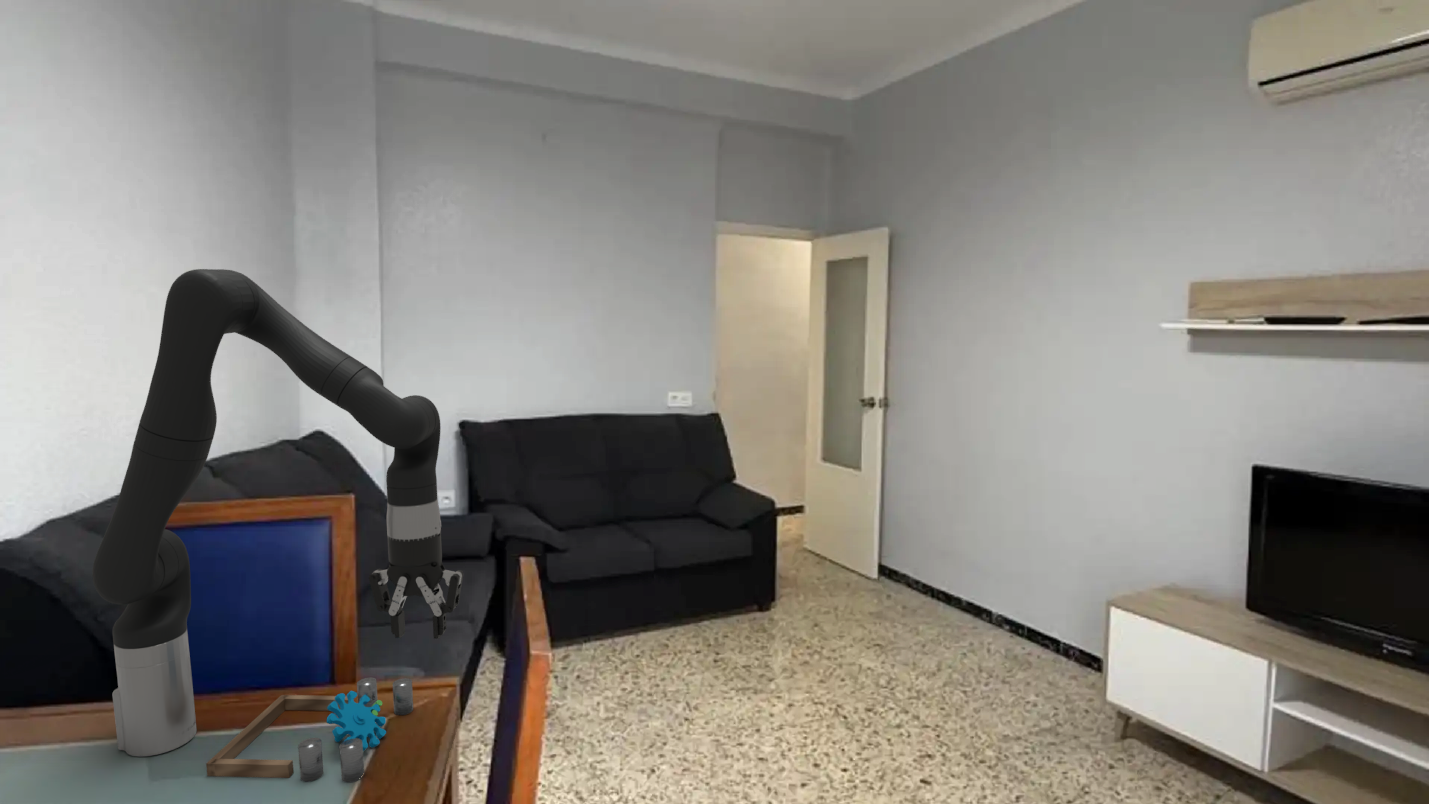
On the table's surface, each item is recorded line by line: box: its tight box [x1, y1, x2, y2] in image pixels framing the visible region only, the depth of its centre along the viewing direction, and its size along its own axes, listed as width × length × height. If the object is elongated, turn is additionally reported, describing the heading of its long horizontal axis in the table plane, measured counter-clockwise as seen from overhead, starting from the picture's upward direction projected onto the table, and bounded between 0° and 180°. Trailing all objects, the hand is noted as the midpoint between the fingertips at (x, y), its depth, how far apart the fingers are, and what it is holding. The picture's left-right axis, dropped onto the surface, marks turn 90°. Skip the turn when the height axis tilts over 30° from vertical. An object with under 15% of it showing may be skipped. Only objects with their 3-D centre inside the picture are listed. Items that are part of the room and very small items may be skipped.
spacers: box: [297, 677, 414, 783], centre depth 124 cm, size 9×21×5 cm, turn 179°
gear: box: [326, 690, 387, 752], centre depth 124 cm, size 11×6×10 cm
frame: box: [205, 694, 348, 779], centre depth 124 cm, size 12×19×2 cm, turn 179°
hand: (419, 636), depth 121 cm, fingers open, 5 cm apart
